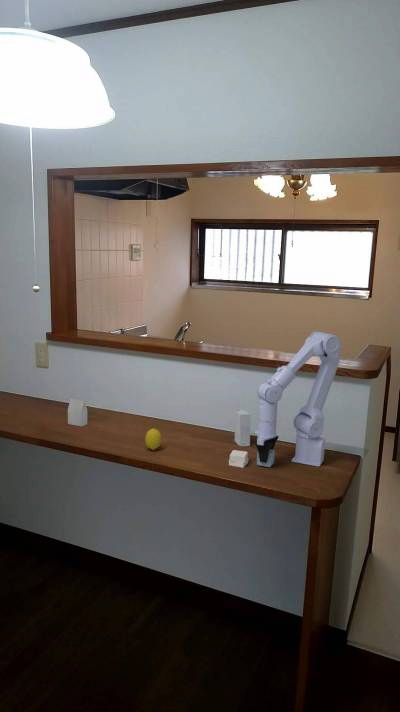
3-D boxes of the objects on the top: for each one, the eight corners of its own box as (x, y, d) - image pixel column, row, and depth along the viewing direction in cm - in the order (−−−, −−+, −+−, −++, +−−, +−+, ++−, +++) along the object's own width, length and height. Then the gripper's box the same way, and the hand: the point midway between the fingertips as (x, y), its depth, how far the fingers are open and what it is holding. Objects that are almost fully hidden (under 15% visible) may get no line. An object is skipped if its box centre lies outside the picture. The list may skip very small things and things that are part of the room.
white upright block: (81, 426, 204) (81, 402, 202) (67, 423, 206) (67, 399, 204) (87, 424, 207) (87, 399, 205) (73, 421, 210) (73, 397, 208)
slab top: (247, 457, 172) (247, 451, 171) (244, 462, 167) (244, 456, 167) (233, 455, 173) (233, 450, 173) (229, 460, 168) (229, 455, 168)
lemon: (146, 453, 177) (147, 431, 175) (144, 447, 182) (144, 426, 181) (162, 452, 178) (162, 430, 177) (159, 446, 184) (159, 425, 182)
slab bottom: (248, 463, 172) (248, 458, 171) (243, 468, 167) (243, 463, 167) (234, 461, 174) (234, 455, 173) (228, 466, 169) (229, 460, 169)
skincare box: (250, 446, 188) (252, 414, 186) (238, 446, 186) (240, 414, 184) (244, 440, 193) (246, 409, 191) (233, 441, 192) (234, 409, 190)
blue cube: (273, 462, 171) (274, 449, 170) (270, 467, 167) (270, 454, 166) (260, 460, 173) (261, 447, 172) (256, 464, 169) (257, 451, 168)
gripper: (262, 412, 175) (260, 450, 178) (248, 423, 162) (246, 464, 165) (282, 415, 173) (280, 454, 175) (270, 427, 160) (268, 468, 162)
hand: (265, 459), depth 170 cm, fingers closed on blue cube, 4 cm apart
